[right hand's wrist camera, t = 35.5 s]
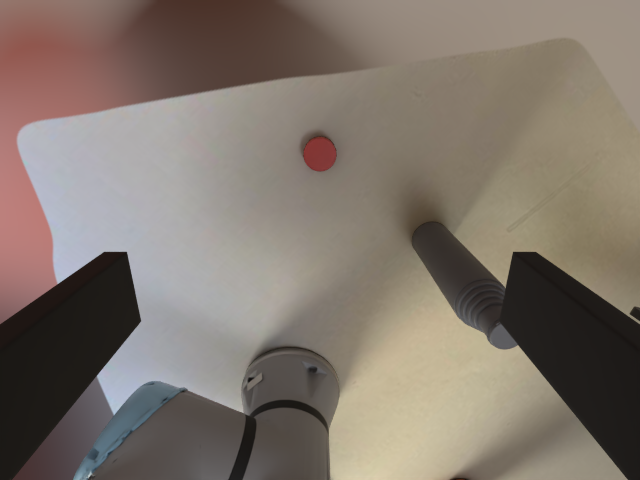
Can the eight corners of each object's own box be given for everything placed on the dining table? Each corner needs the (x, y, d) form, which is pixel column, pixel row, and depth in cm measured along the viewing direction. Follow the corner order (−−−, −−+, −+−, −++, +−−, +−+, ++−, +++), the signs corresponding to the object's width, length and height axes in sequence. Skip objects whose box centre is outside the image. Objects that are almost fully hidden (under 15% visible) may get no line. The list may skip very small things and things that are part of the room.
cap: (331, 132, 44) (332, 133, 42) (339, 164, 46) (340, 167, 44) (300, 140, 45) (299, 142, 43) (308, 172, 46) (308, 175, 44)
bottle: (455, 241, 49) (550, 340, 29) (424, 262, 50) (495, 371, 30) (436, 214, 48) (521, 297, 28) (404, 236, 49) (464, 331, 29)
